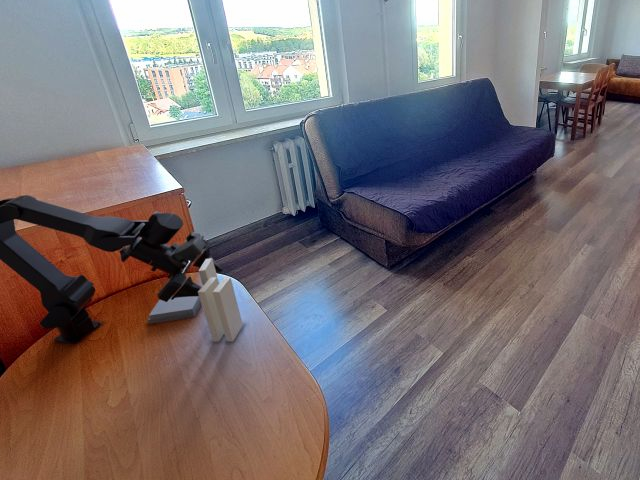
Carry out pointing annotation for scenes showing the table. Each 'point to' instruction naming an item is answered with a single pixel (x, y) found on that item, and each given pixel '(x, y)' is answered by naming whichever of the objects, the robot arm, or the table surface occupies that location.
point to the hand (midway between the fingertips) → (216, 282)
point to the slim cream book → (207, 271)
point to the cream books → (220, 309)
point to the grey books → (174, 309)
